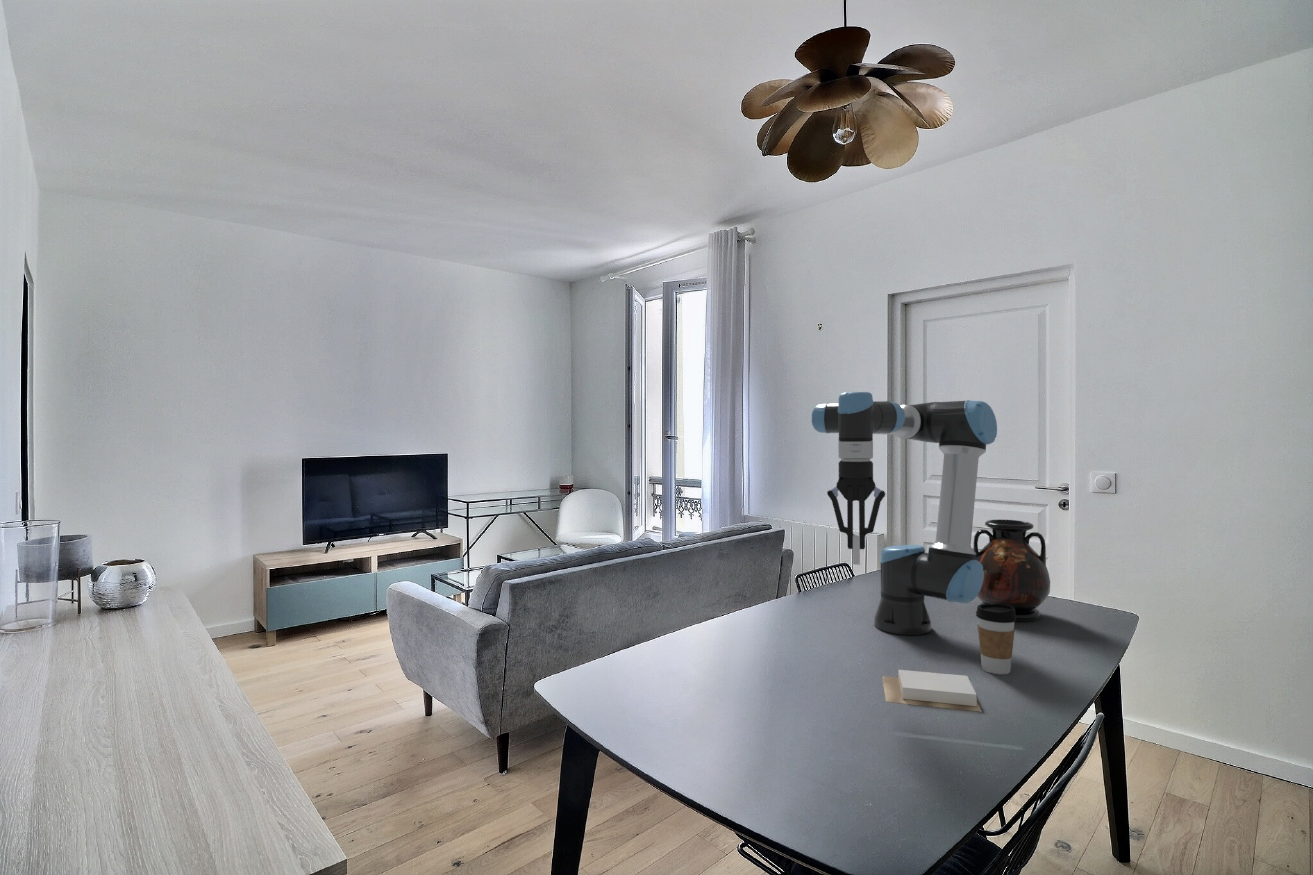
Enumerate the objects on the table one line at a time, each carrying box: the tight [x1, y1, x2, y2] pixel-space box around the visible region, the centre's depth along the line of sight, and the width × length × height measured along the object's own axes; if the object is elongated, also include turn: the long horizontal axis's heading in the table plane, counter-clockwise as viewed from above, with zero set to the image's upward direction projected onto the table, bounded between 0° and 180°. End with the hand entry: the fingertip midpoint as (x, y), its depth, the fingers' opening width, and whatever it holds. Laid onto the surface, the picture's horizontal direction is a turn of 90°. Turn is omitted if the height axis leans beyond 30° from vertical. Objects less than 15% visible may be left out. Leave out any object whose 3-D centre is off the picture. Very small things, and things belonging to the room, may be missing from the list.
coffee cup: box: [975, 604, 1017, 676], centre depth 151 cm, size 8×8×15 cm
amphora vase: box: [972, 519, 1051, 622], centre depth 194 cm, size 22×22×28 cm
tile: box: [897, 669, 978, 706], centre depth 137 cm, size 3×10×14 cm
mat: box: [881, 675, 983, 713], centre depth 137 cm, size 18×14×1 cm
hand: (856, 563), depth 147 cm, fingers closed
